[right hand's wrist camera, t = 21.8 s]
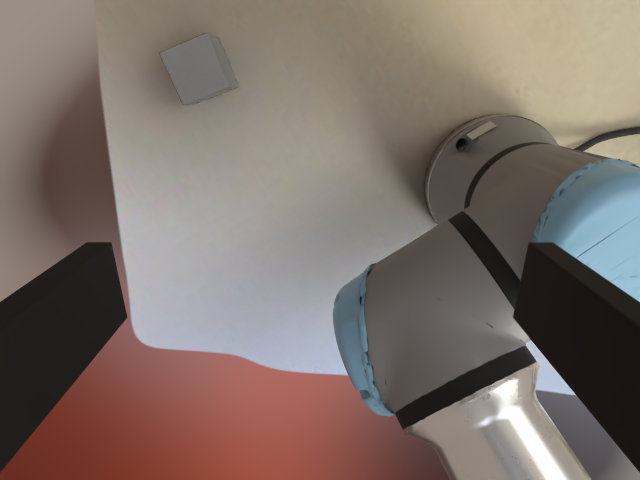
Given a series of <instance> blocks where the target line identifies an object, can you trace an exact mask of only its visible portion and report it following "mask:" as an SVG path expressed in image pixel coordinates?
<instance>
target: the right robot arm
mask: <svg viewBox="0 0 640 480" xmlns="http://www.w3.org/2000/svg"><path fill="white" fill-rule="evenodd" d="M633 134H640V127H636V128H630V129H624V130H618V131H614V132H610V133H606V134H603V135H600V136H597V137H595V138H593V139H591V140H589V141H587V142H586V143H584V144H582V145H581V146H579V147H577V148H575V149H570V148H565V147H561V146H559V145H558V144H557V142H556V141H555V139H554V138H553V137H552V135H551V134H550V133H549V132H548V131H547V130H546V129H545V128H543V127H542V126H541V125H539V124H537V123H536V122H534V121H531V120H529V119H526V118H522V117H518V116H512V115H503V114H498V115H488V116H484V117H480V118H477V119H474V120H472V121H470V122H467V123H466V124H464V125H462V126H460V127H459V128H458V129H456V130H455V131H453V132H452V133H451V134H450V135H449V136H448V137H447V138H446V139H445V140H444V141H443V142H442V143H441V145H440V146H439V147H438V149H437V150H436V152H435V153H434V155H433V157H432V159H431V161H430V163H429V166H428V169H427V173H426V177H425V187H424V189H425V199H426V203H427V206H428V209H429V211H430V213H431V215H432V217H433V218H434V220H435V221H436V222H437V224H438V226H436V227H435V228H433V229H431V230H430V231H428V232H427V233H425V234H423V235H422V236H420V237H419V238H417V239H416V240H414V241H412V242H411V243H409V244H407V245H406V246H404V247H403V248H401V249H399V250H398V251H396V252H394V253H393V254H391V255H389V256H388V257H386V258H384V259H383V260H381V261H379V262H378V263H375V264H371V265H369V266H368V267H367V269H366V270H365V271H364V272H363V273H362V274H360V275H359V276H358V277H356V278H355V279H353V280H352V281H350V282H349V283H347V284H346V285H345V286H343V287H342V289H341V290H340V291H339V292H338V294H337V296H336V300H335V302H334V309H333V323H334V331H335V336H336V340H337V344H338V348H339V351H340V354H341V357H342V360H343V363H344V366H345V368H346V370H347V373H348V375H349V377H350V379H351V381H352V383H353V385H354V387H355V388H356V389H357V390H359V391H360V394H361V397H362V400H363V401H364V402H365V404H366V405H367V406H368V407H369V408H370V409H371V410H372V411H373V412H375V413H376V414H378V415H382V416H383V415H387V416H392V415H394V414H396V416H397V419H398V421H399V423H400V425H401V427H402V429H403V431H404V432H405V434H406V435H408V436H411V437H413V438H416V439H418V440H420V441H423V442H425V443H427V444H429V445H430V446H431V447H433V448H434V449H435V451H436V453H437V455H438V457H439V459H440V461H441V463H442V465H443V467H444V469H445V470H446V472H447V474H448V476H449V478H450V480H591V478H590V477H589V475H588V474H587V472H586V471H585V469H584V468H583V466H582V465H581V463H580V462H579V460H578V459H577V457H576V456H575V454H574V453H573V451H572V450H571V449H570V447H569V446H568V444H567V443H566V441H565V440H564V438H563V437H562V435H561V434H560V432H559V431H558V429H557V428H556V426H555V425H554V423H553V422H552V420H551V419H550V417H549V416H548V414H547V413H546V411H545V410H544V408H543V407H542V406H541V404H540V402H539V401H538V399H537V397H536V384H537V379H538V373H539V367H540V366H539V364H538V362H537V361H536V360H535V358H534V357H533V356H532V354H531V353H530V351H529V350H528V348H527V347H526V342H528V341H530V340H532V342H533V343H534V344H535V345H536V346H537V348H538V349H539V350H540V351H541V353H542V354H543V355H544V356H545V357H546V359H547V360H548V361H549V362H550V364H551V365H552V366H553V367H554V368H555V370H556V371H557V372H558V373H559V374H560V376H561V377H562V378H563V379H564V381H565V382H566V383H567V384H568V385H569V387H570V388H571V389H572V390H573V392H574V393H575V394H576V395H577V396H578V398H579V399H580V400H581V401H582V403H583V404H584V405H585V406H586V407H587V409H588V410H589V411H590V412H591V413H592V415H593V416H594V417H595V418H596V420H597V421H598V422H599V423H600V425H601V426H602V427H603V428H604V429H605V431H606V432H607V433H608V434H609V436H610V437H611V438H612V439H613V440H614V442H615V443H616V444H617V445H618V446H619V448H620V449H621V450H622V451H623V453H624V454H625V455H626V456H627V457H628V459H629V460H630V461H631V462H632V463H633V465H634V466H635V467H636V468H637V470H638V471H639V472H640V167H638V166H637V165H635V164H633V163H630V162H628V161H622V160H620V159H612V158H608V157H603V156H599V155H595V154H591V153H586V152H583V151H585V150H587V149H588V148H590V147H591V146H593V145H595V144H597V143H599V142H602V141H605V140H608V139H612V138H616V137H621V136H627V135H633ZM126 318H127V314H126V309H125V305H124V300H123V295H122V291H121V286H120V281H119V276H118V272H117V267H116V262H115V258H114V253H113V248H112V244H111V242H107V243H106V242H94V243H93V242H88V243H85V244H84V245H83V246H81V247H80V248H78V249H77V250H75V251H74V252H72V253H71V254H69V255H68V256H67V257H65V258H64V259H62V260H61V261H59V262H58V263H56V264H55V265H53V266H52V267H51V268H49V269H48V270H46V271H45V272H43V273H42V274H40V275H39V276H37V277H36V278H35V279H33V280H32V281H30V282H29V283H27V284H26V285H24V286H23V287H21V288H20V289H19V290H17V291H16V292H14V293H13V294H11V295H10V296H8V297H7V298H5V299H4V300H3V301H1V302H0V472H1V471H2V470H3V468H4V467H5V466H6V465H7V464H8V462H9V461H10V460H11V459H12V457H13V456H14V455H15V454H16V453H17V451H18V450H19V449H20V448H21V446H22V445H23V444H24V443H25V442H26V440H27V439H28V438H29V437H30V436H31V434H32V433H33V432H34V431H35V429H36V428H37V427H38V426H39V425H40V423H41V422H42V421H43V420H44V418H45V417H46V416H47V415H48V414H49V412H50V411H51V410H52V409H53V407H54V406H55V405H56V404H57V403H58V401H59V400H60V399H61V398H62V396H63V395H64V394H65V393H66V392H67V390H68V389H69V388H70V387H71V385H72V384H73V383H74V382H75V381H76V379H77V378H78V377H79V376H80V374H81V373H82V372H83V371H84V370H85V368H86V367H87V366H88V365H89V363H90V362H91V361H92V360H93V359H94V357H95V356H96V355H97V354H98V353H99V351H100V350H101V349H102V348H103V346H104V345H105V344H106V343H107V341H108V340H109V339H110V338H111V337H112V335H113V334H114V333H115V332H116V331H117V329H118V328H119V327H120V326H121V324H122V323H123V322H124V321H125V320H126Z"/></svg>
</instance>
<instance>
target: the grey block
mask: <svg viewBox="0 0 640 480" xmlns="http://www.w3.org/2000/svg"><path fill="white" fill-rule="evenodd" d="M159 54H160V56H161V58H162V61H163V63H164V65H165V67H166V69H167V71H168V73H169V76H170V78H171V80H172V82H173V84H174V86H175V88H176V91H177V93H178V95H179V97H180V99H181V101H182V103H183V105H188V104H194V103H199V102H202V101H204V100H207V99H209V98H211V97H214V96H216V95H219V94H221V93H224V92H226V91H229V90H231V89H234V88H236V87H238V86H239V85H238V83H237V80H236V78H235V76H234V73H233V71H232V68H231V66H230V63H229V61H228V58H227V56H226V54H225V51H224V49H223V46H222V44H221V41H220V39H219V38H217V37H215V36H212V35H210V34H208V33H205V34H202V35H200V36H198V37H195V38H193V39H191V40H188V41H186V42H184V43H181V44H179V45H177V46H174V47H172V48H169V49H167V50H165V51H162V52H160V53H159Z"/></svg>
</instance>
